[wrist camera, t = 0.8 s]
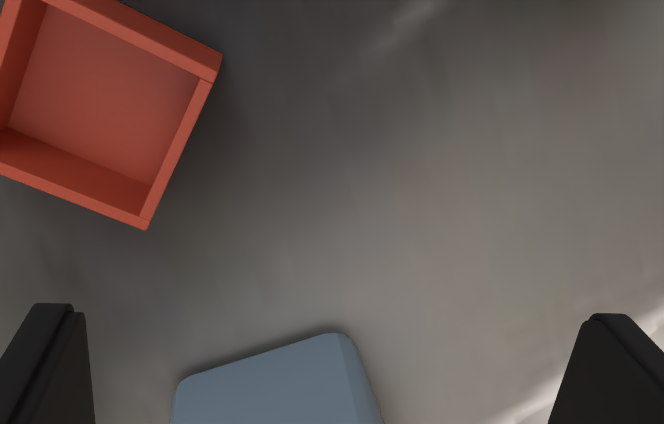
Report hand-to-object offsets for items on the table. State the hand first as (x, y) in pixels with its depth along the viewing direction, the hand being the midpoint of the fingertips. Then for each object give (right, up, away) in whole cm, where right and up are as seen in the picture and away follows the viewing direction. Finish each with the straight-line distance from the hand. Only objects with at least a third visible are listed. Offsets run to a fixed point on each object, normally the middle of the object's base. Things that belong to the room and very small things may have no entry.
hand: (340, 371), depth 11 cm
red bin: (-15, +11, +28) cm, 34 cm away
